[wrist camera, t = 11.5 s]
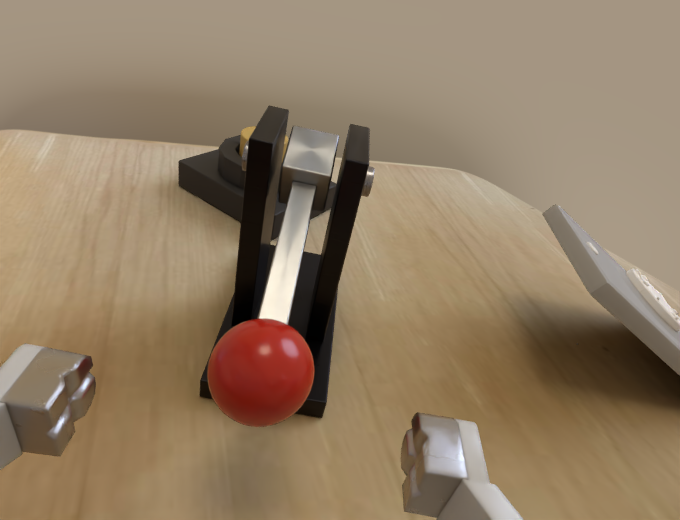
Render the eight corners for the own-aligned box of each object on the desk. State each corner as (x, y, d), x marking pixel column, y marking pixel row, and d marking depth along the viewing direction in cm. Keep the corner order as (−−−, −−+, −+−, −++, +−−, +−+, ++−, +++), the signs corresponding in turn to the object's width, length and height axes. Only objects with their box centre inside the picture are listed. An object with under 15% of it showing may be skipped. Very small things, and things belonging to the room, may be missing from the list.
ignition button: (229, 152, 36) (230, 131, 35) (260, 143, 39) (263, 122, 38) (264, 171, 35) (266, 149, 34) (294, 160, 37) (297, 139, 36)
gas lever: (299, 446, 16) (311, 417, 14) (197, 429, 16) (188, 396, 13) (343, 182, 24) (356, 127, 21) (274, 167, 24) (278, 110, 21)
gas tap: (321, 418, 23) (383, 212, 16) (199, 396, 22) (209, 175, 16) (337, 272, 33) (379, 106, 26) (252, 255, 32) (272, 82, 25)
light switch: (762, 405, 28) (625, 271, 23) (665, 446, 30) (525, 334, 26) (684, 310, 35) (566, 192, 30) (611, 351, 37) (493, 249, 33)
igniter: (178, 185, 38) (178, 138, 35) (247, 162, 44) (251, 120, 41) (271, 240, 34) (278, 192, 32) (333, 207, 40) (342, 164, 38)
